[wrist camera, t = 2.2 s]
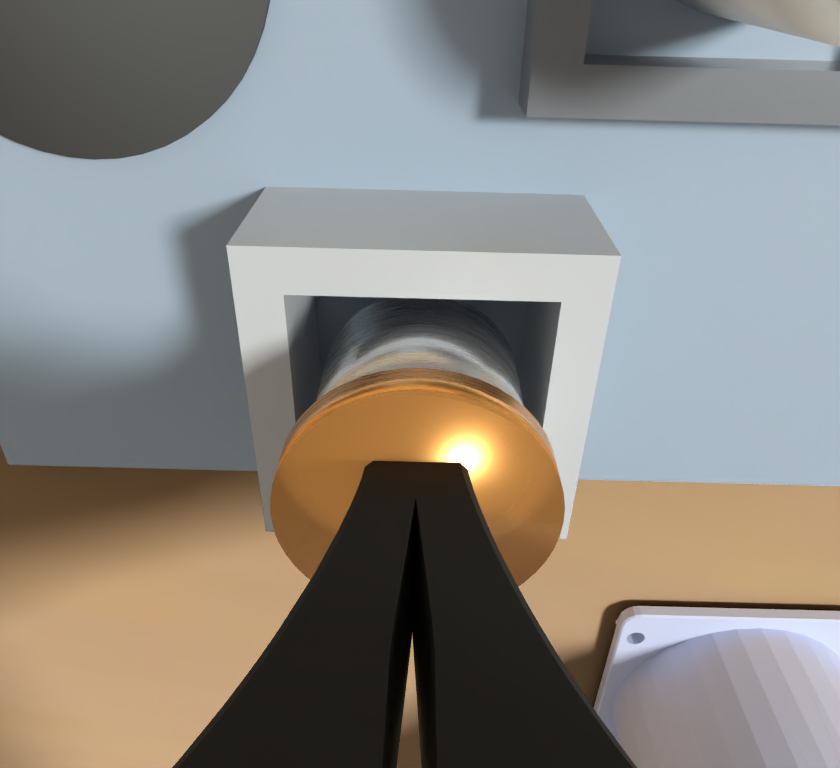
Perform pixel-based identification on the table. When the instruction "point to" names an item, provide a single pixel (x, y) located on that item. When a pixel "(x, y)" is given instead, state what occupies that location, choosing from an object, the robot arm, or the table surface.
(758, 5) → the cartridge
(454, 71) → the panel
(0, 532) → the table surface
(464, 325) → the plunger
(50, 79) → the rubber pad
